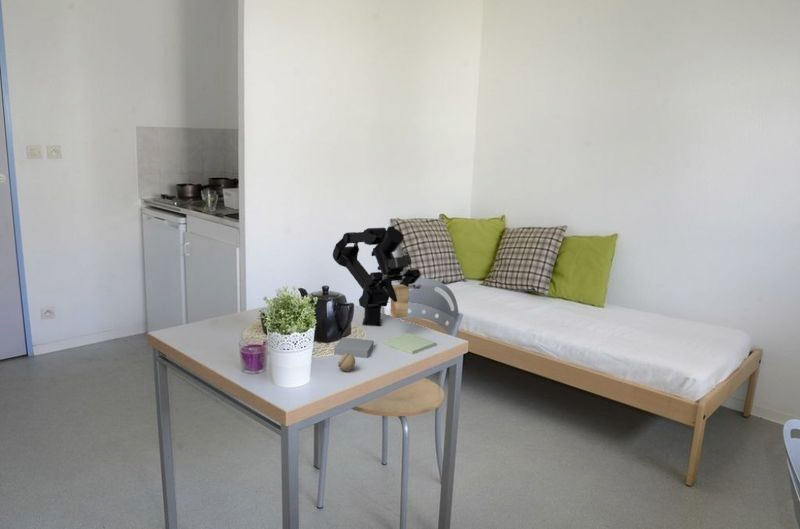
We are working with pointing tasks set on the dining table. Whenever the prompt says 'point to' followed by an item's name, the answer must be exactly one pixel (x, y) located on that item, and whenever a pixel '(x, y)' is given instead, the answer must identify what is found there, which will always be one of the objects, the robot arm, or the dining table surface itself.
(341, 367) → the door knob
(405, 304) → the oak block
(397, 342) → the sage mat
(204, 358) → the dining table surface
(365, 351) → the grey block
